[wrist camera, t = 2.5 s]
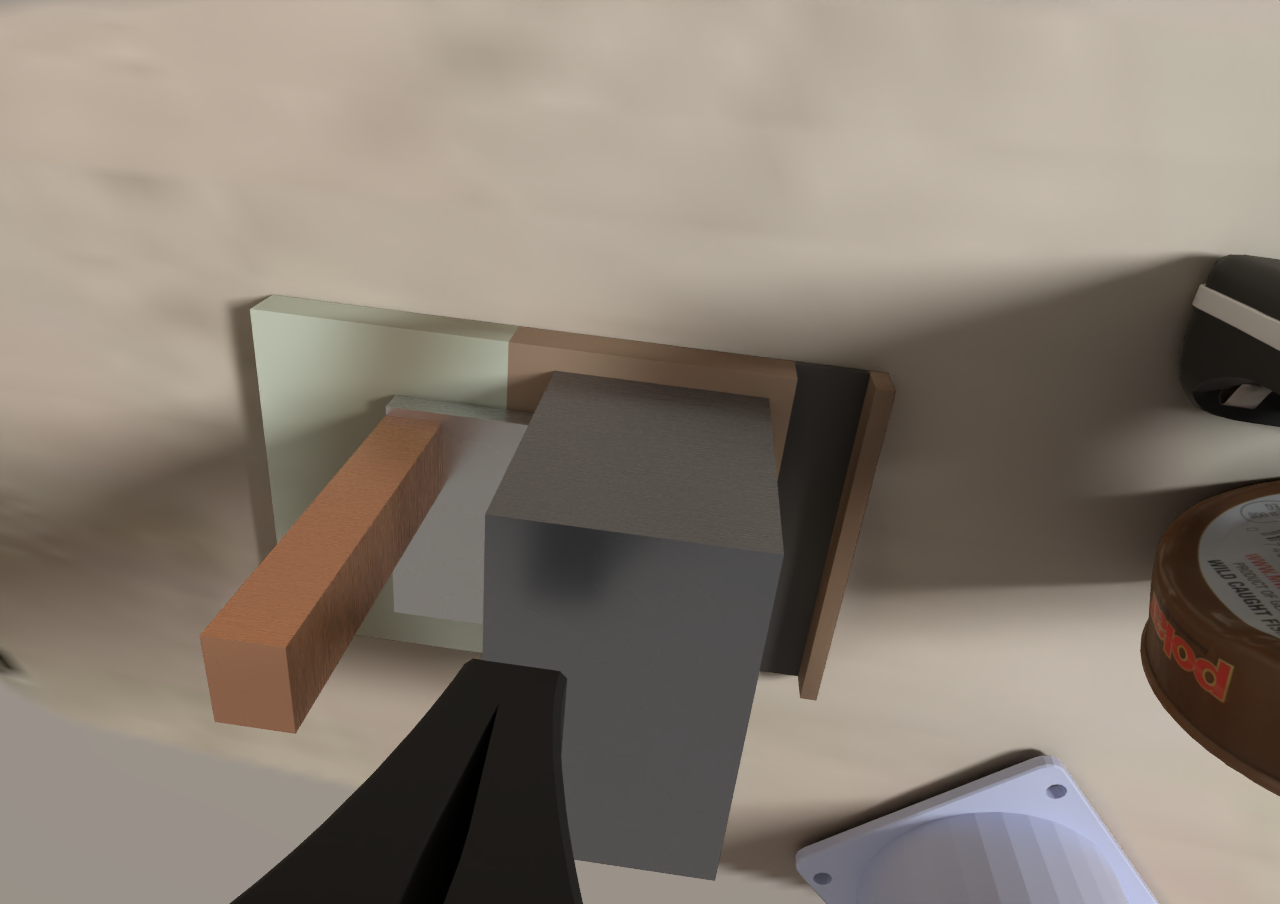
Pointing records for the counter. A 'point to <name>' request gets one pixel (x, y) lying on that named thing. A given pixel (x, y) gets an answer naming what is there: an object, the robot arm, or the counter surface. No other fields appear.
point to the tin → (1221, 628)
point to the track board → (516, 380)
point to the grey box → (640, 602)
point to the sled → (364, 557)
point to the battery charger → (1236, 341)
